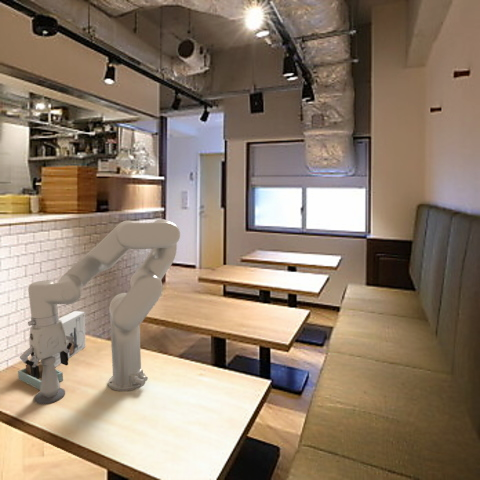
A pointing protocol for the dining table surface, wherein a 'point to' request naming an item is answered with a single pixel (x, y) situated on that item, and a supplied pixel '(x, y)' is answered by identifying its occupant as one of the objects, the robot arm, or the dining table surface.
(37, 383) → the tray
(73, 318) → the skincare box
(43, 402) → the coaster
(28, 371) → the walnut block
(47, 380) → the salt shaker
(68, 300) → the robot arm
